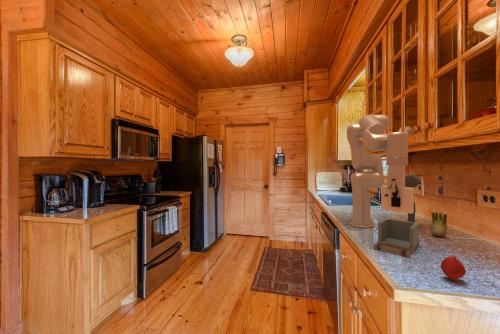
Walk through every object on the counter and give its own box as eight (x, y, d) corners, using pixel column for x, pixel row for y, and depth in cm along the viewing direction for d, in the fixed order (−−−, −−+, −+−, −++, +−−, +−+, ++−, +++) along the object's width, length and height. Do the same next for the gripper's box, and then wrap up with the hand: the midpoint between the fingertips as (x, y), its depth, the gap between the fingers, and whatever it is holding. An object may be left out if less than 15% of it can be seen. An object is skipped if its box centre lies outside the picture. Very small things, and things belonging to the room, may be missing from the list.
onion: (438, 279, 74) (438, 254, 74) (443, 273, 77) (443, 249, 77) (463, 286, 69) (463, 260, 69) (467, 280, 73) (467, 255, 72)
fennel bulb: (448, 238, 112) (448, 213, 112) (440, 239, 111) (440, 214, 111) (436, 234, 118) (436, 211, 118) (428, 235, 117) (428, 211, 117)
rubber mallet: (418, 231, 124) (418, 175, 123) (401, 228, 129) (401, 174, 128) (420, 226, 133) (420, 174, 133) (405, 224, 138) (405, 173, 137)
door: (383, 208, 102) (383, 186, 101) (413, 212, 94) (413, 187, 94) (380, 210, 99) (380, 186, 98) (411, 214, 91) (411, 188, 91)
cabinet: (386, 238, 112) (386, 218, 112) (418, 245, 103) (418, 223, 103) (373, 249, 100) (373, 225, 99) (409, 257, 90) (409, 232, 90)
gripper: (391, 162, 105) (391, 202, 105) (381, 162, 93) (381, 208, 93) (411, 161, 99) (411, 204, 100) (403, 162, 88) (403, 210, 88)
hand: (396, 205), depth 97 cm, fingers closed on door, 3 cm apart
